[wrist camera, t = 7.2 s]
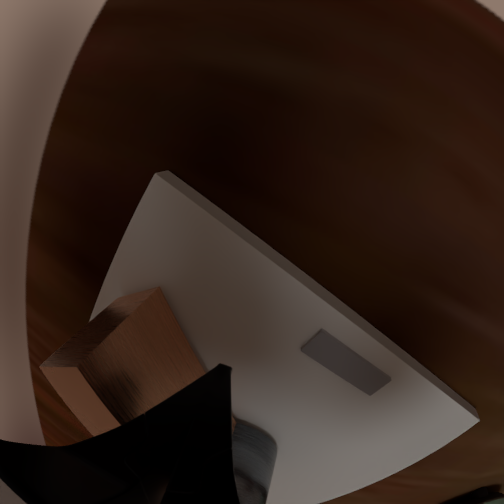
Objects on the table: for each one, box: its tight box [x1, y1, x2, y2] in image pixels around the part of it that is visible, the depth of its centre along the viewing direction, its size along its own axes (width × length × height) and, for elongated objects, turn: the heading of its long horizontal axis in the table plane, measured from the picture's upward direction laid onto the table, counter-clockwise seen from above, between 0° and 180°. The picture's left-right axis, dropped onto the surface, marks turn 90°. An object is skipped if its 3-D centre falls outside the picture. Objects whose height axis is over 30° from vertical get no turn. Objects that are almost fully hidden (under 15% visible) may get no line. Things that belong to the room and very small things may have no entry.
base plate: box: [89, 170, 480, 504], centre depth 14 cm, size 20×20×1 cm
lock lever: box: [39, 286, 277, 504], centre depth 11 cm, size 12×5×5 cm, turn 21°
